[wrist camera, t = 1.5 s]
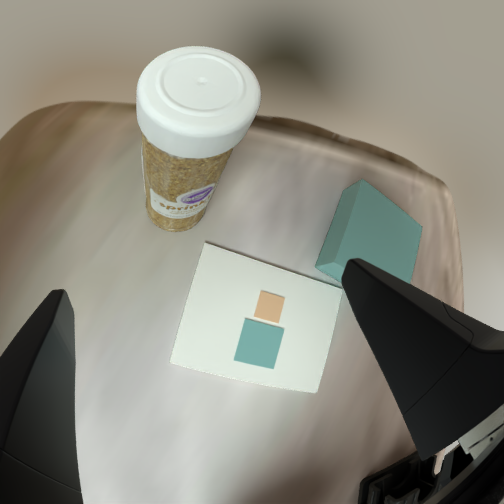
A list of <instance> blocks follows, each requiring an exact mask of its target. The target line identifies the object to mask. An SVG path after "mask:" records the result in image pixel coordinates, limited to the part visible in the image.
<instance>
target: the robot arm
mask: <svg viewBox="0 0 504 504" xmlns="http://www.w3.org/2000/svg"><path fill="white" fill-rule="evenodd" d="M341 282H342V286H343V288H344V290H345V293H346V295H347V298H348V300H349V303H350V305H351V308H352V310H353V313H354V315H355V317H356V320H357V322H358V324H359V326H360V328H361V330H362V332H363V334H364V336H365V338H366V340H367V342H368V344H369V346H370V348H371V350H372V352H373V354H374V356H375V358H376V360H377V362H378V364H379V366H380V368H381V370H382V372H383V374H384V376H385V378H386V381H387V383H388V385H389V387H390V389H391V391H392V393H393V396H394V398H395V400H396V402H397V404H398V407H399V409H400V411H401V413H402V415H403V418H404V420H405V423H406V425H407V427H408V430H409V432H410V434H411V437H412V439H413V441H414V444H415V446H416V449H417V451H418V454H419V456H420V458H421V460H422V461H424V460H426V459H428V458H429V457H431V456H433V455H434V454H436V453H438V452H439V451H441V450H442V449H444V448H446V447H447V446H449V445H450V444H452V443H453V442H455V441H456V440H458V442H459V444H458V445H457V446H456V447H455V448H454V449H452V450H451V451H450V452H449V453H448V454H446V455H445V457H444V463H443V468H442V473H441V478H440V483H441V485H442V487H443V489H441V490H440V491H439V492H438V493H437V494H435V495H434V496H433V497H431V498H430V499H429V500H428V501H426V502H425V503H424V504H504V331H499V330H496V329H494V328H492V327H490V326H488V325H486V324H484V323H482V322H480V321H478V320H476V319H474V318H472V317H470V316H468V315H466V314H464V313H462V312H460V311H458V310H456V309H455V308H453V307H451V306H449V305H447V304H446V303H444V302H441V301H440V300H438V299H436V298H435V297H433V296H431V295H429V294H427V293H426V292H424V291H422V290H420V289H418V288H416V287H414V286H413V285H411V284H409V283H407V282H405V281H403V280H401V279H399V278H398V277H396V276H394V275H392V274H390V273H388V272H386V271H384V270H382V269H380V268H379V267H377V266H375V265H373V264H371V263H369V262H367V261H365V260H363V259H361V258H352V259H349V260H348V261H347V263H346V266H345V269H344V271H343V274H342V277H341ZM75 365H76V361H75V329H74V311H73V308H72V305H71V302H70V300H69V297H68V294H67V292H66V291H65V290H64V289H58V290H52V291H51V292H50V293H49V294H48V296H47V297H46V298H45V299H44V300H43V302H42V303H41V304H40V305H39V306H38V308H37V309H36V310H35V311H34V313H33V314H32V315H31V316H30V318H29V319H28V320H27V321H26V323H25V324H24V325H23V327H22V328H21V329H20V330H19V332H18V333H17V334H16V336H15V337H14V338H13V340H12V341H11V343H10V344H9V345H8V347H7V348H6V350H5V351H4V352H3V354H2V355H1V357H0V504H83V498H82V493H81V486H80V478H79V470H78V460H77V449H76V433H75Z"/></svg>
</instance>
